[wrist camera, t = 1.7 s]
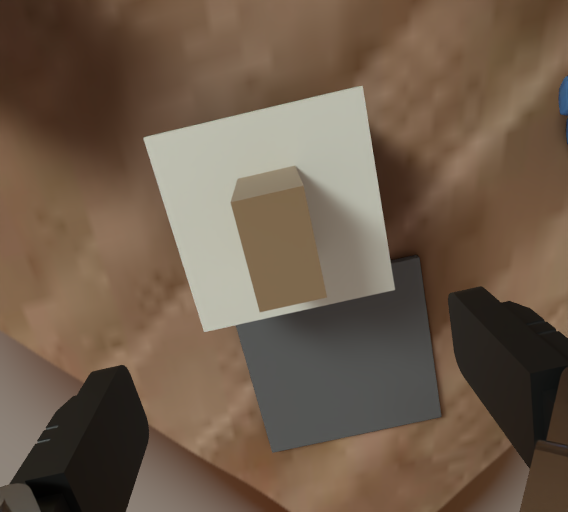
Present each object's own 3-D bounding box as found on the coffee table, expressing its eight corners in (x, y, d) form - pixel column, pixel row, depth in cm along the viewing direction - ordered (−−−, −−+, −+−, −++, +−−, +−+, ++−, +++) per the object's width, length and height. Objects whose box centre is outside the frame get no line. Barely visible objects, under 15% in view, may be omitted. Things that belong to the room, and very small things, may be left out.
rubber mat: (416, 254, 35) (419, 257, 34) (438, 412, 39) (441, 416, 39) (229, 296, 35) (228, 300, 35) (272, 447, 40) (272, 452, 39)
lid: (358, 86, 24) (391, 84, 18) (390, 283, 28) (426, 337, 22) (147, 136, 25) (109, 150, 18) (206, 323, 28) (190, 389, 22)
